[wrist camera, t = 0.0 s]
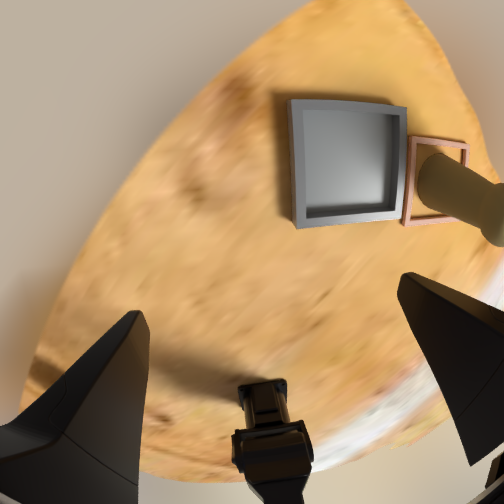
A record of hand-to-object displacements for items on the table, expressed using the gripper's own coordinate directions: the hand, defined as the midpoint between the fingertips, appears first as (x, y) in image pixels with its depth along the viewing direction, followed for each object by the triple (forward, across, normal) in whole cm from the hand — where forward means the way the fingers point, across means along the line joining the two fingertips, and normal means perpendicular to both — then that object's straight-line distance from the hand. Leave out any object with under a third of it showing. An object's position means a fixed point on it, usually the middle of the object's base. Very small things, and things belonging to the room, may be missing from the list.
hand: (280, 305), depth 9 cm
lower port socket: (+15, -9, -2) cm, 17 cm away
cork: (+15, -20, 0) cm, 25 cm away
